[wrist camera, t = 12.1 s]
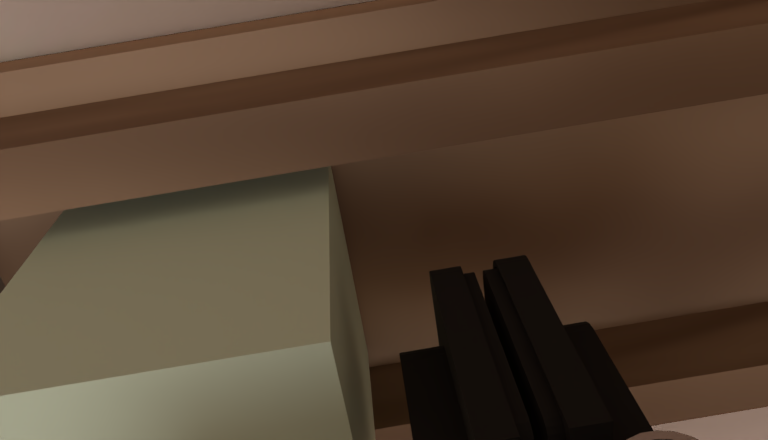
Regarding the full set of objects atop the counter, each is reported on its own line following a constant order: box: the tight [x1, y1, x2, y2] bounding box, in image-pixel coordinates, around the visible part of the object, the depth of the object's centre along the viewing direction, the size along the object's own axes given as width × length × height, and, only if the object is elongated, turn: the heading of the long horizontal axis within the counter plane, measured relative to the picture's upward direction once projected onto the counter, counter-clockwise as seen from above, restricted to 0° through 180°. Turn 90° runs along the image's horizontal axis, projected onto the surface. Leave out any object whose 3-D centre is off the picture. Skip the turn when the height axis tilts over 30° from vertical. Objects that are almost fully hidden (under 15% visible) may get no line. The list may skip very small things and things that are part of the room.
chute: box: [0, 0, 768, 440], centre depth 13 cm, size 10×28×6 cm, turn 98°
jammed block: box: [0, 166, 376, 440], centre depth 12 cm, size 5×5×6 cm
